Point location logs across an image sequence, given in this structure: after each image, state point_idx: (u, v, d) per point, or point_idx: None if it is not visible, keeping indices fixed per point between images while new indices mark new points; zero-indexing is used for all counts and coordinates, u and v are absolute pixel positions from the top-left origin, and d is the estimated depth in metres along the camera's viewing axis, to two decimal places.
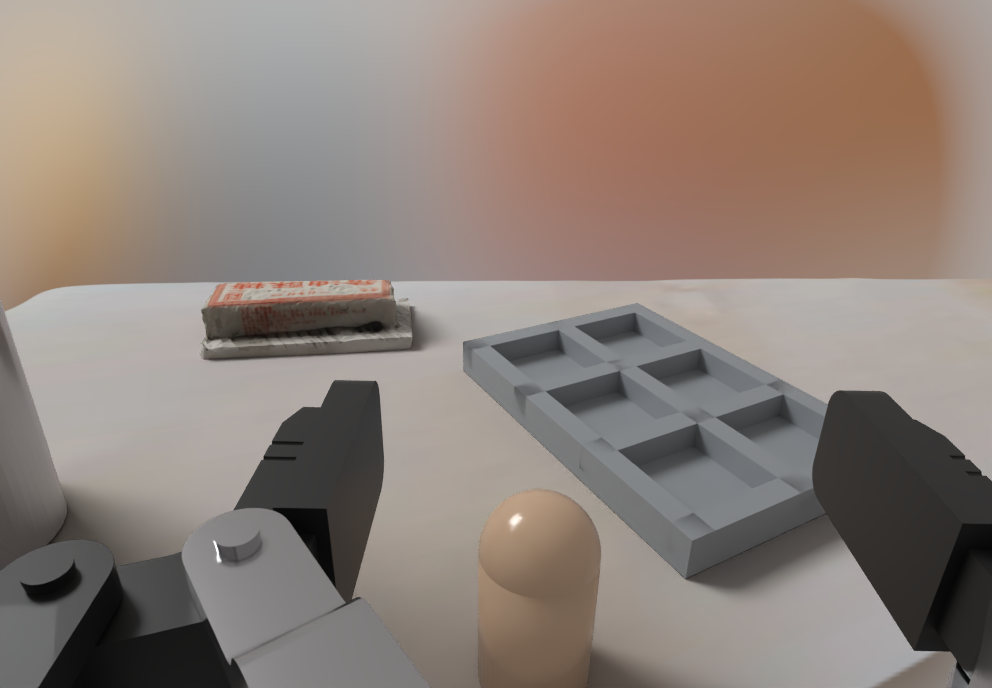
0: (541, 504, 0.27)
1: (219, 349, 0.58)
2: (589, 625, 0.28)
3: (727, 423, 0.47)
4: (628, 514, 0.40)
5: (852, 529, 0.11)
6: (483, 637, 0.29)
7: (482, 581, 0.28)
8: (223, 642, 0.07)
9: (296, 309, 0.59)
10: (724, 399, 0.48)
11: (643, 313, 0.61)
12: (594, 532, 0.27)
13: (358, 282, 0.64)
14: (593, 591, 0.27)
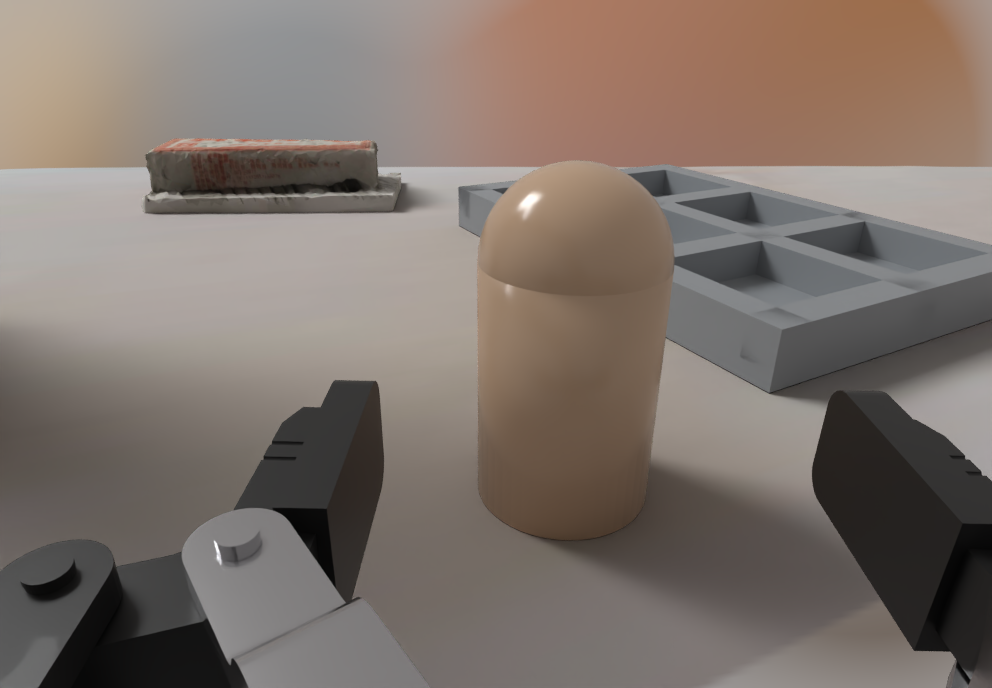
0: (579, 163, 0.17)
1: (163, 200, 0.48)
2: (655, 376, 0.18)
3: None
4: (681, 328, 0.29)
5: (852, 529, 0.11)
6: (486, 405, 0.18)
7: (484, 300, 0.17)
8: (223, 642, 0.07)
9: (256, 158, 0.49)
10: (791, 224, 0.38)
11: (675, 170, 0.51)
12: (664, 215, 0.17)
13: (337, 141, 0.54)
14: (664, 310, 0.17)
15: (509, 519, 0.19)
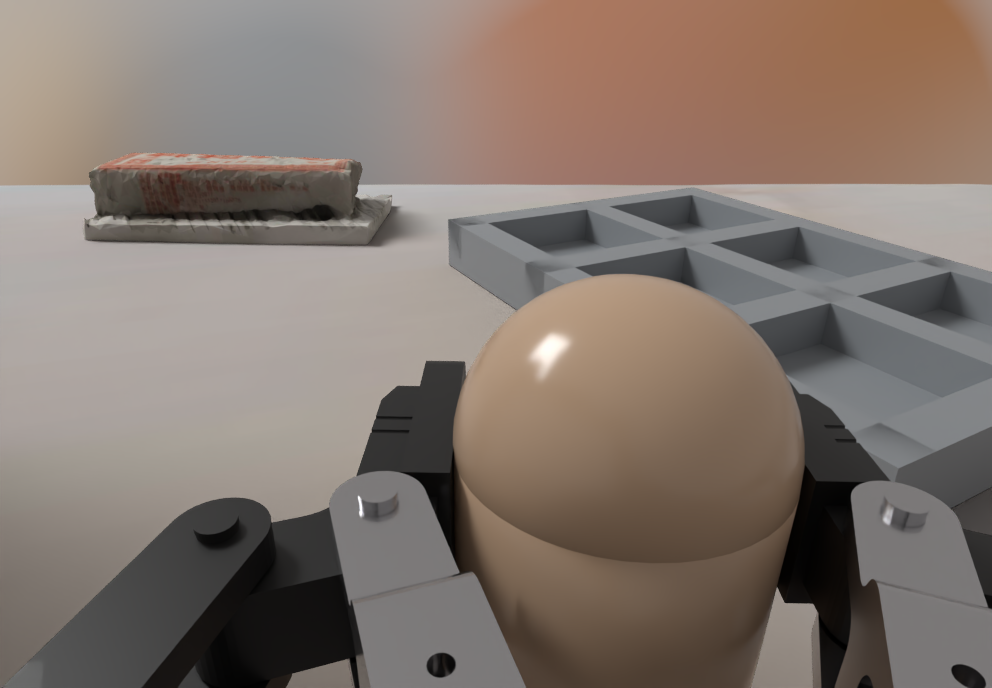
0: (637, 287, 0.09)
1: (104, 226, 0.42)
2: (760, 647, 0.10)
3: None
4: None
5: None
6: None
7: (462, 521, 0.10)
8: (348, 585, 0.07)
9: (213, 179, 0.43)
10: (860, 276, 0.30)
11: (704, 195, 0.44)
12: None
13: (314, 159, 0.46)
14: (785, 549, 0.09)
15: None
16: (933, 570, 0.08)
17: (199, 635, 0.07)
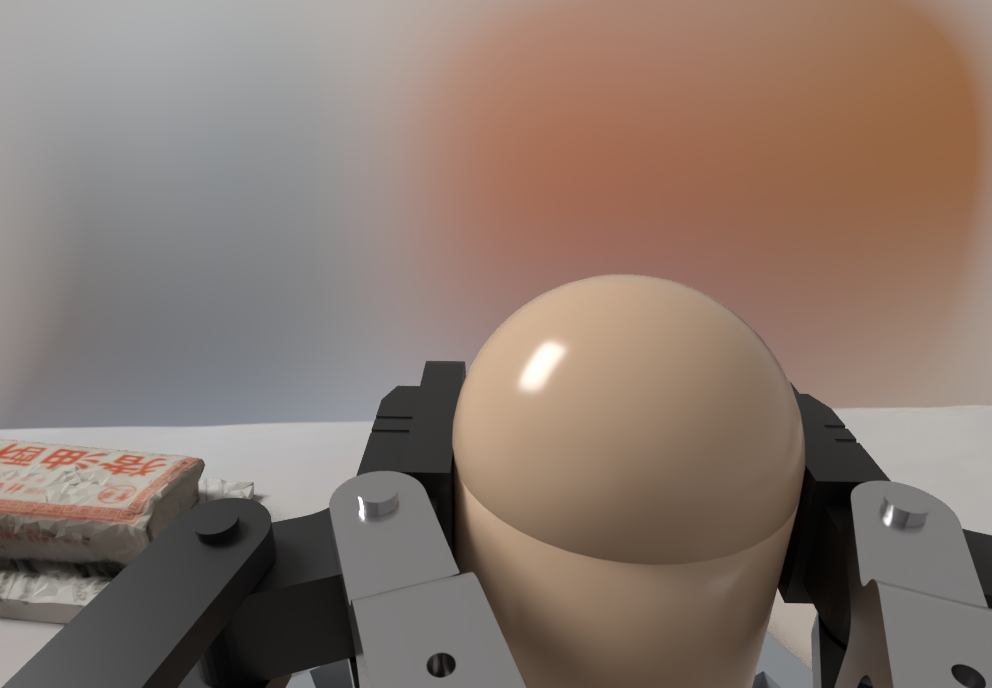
0: (637, 288, 0.09)
1: None
2: (760, 649, 0.10)
3: None
4: None
5: None
6: None
7: (462, 523, 0.10)
8: (348, 584, 0.07)
9: None
10: None
11: None
12: (787, 378, 0.09)
13: (130, 464, 0.35)
14: (785, 550, 0.09)
15: None
16: (933, 570, 0.08)
17: (199, 635, 0.07)
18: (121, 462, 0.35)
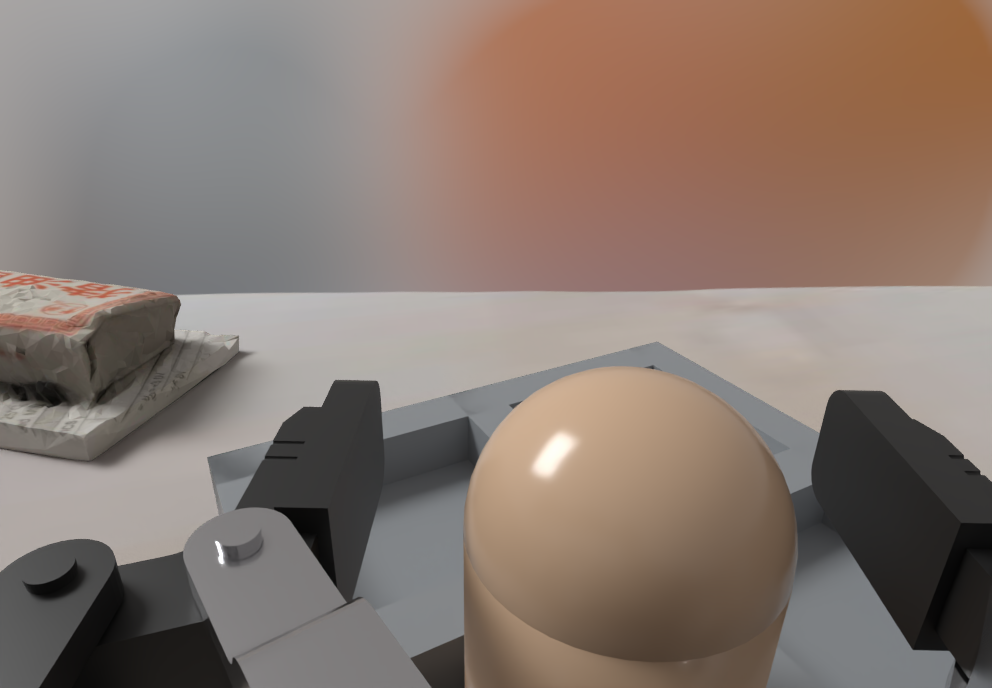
0: (639, 389, 0.10)
1: None
2: None
3: None
4: None
5: (851, 529, 0.11)
6: None
7: (473, 606, 0.10)
8: (225, 640, 0.07)
9: None
10: None
11: (672, 367, 0.27)
12: (781, 471, 0.10)
13: (92, 290, 0.30)
14: (779, 634, 0.10)
15: None
16: None
17: None
18: (84, 287, 0.30)
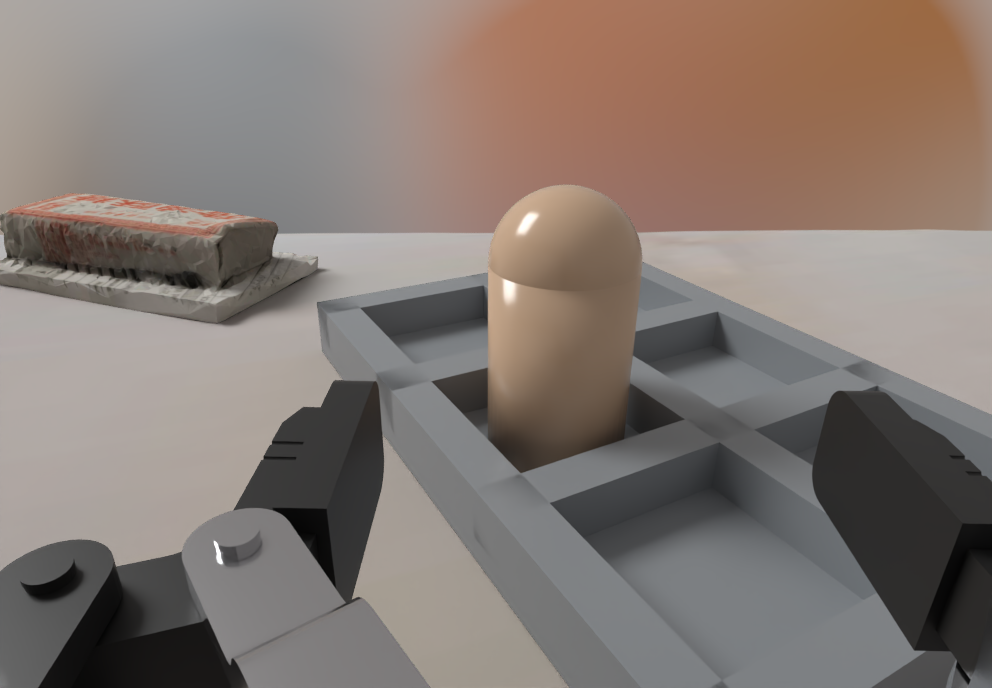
0: (567, 187, 0.21)
1: None
2: (627, 354, 0.22)
3: (776, 441, 0.24)
4: (566, 659, 0.17)
5: (852, 529, 0.11)
6: (495, 377, 0.23)
7: (493, 294, 0.22)
8: (223, 641, 0.07)
9: (94, 233, 0.40)
10: (768, 395, 0.25)
11: None
12: (634, 227, 0.22)
13: (218, 215, 0.42)
14: (633, 301, 0.22)
15: None
16: None
17: None
18: (212, 213, 0.42)
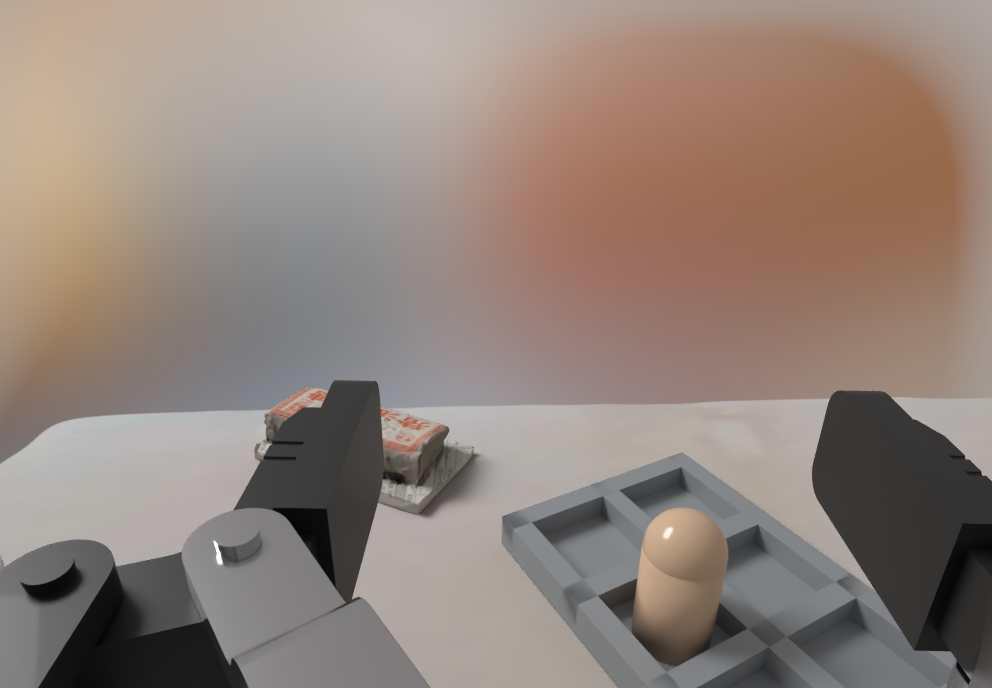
0: (690, 518, 0.40)
1: None
2: (719, 599, 0.41)
3: (798, 638, 0.43)
4: None
5: (852, 529, 0.11)
6: (645, 609, 0.42)
7: (648, 571, 0.41)
8: (223, 642, 0.07)
9: None
10: (793, 607, 0.44)
11: (690, 468, 0.58)
12: (724, 536, 0.41)
13: (411, 422, 0.61)
14: (724, 576, 0.41)
15: (653, 656, 0.43)
16: None
17: None
18: (406, 421, 0.62)
